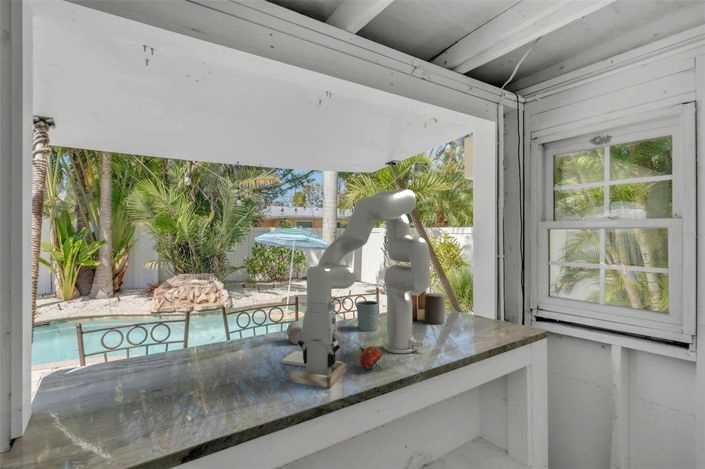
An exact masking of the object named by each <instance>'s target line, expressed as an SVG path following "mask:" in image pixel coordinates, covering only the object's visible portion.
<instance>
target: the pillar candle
mask: <svg viewBox="0 0 705 469" xmlns="http://www.w3.org/2000/svg"><path fill="white" fill-rule="evenodd" d="M424 293H425V292H424ZM445 302H446V295H445V294H444V293H440V292H436V291H434V292H426V293H425V294H424V308H423V309H424V316H423V317H424V318H423V320H424V323H426V324H428V325H434V326H435V325H443V324H445V314H446V310H445V309H446V308H445V307H446V306H445V305H446V303H445Z"/></svg>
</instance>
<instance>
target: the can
mask: <svg viewBox="0 0 705 469" xmlns="http://www.w3.org/2000/svg"><path fill="white" fill-rule="evenodd" d="M322 342H323V341H313V340H310V342H309V343H307V367H306V373H312V374H318V375H325V376H329V375H330V374H331V373H332V371H331V368H330V367H328V354H330V352H329V350H328V346H326V345H324V344H323V343H322Z"/></svg>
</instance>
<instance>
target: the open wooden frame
mask: <svg viewBox="0 0 705 469" xmlns="http://www.w3.org/2000/svg"><path fill="white" fill-rule="evenodd" d="M347 365H348V364H347V362H346V361H339V360H335V364H334V365H333V366H332V367H331V374H330V375H329V376H325V375H318V374H312V373H307V372H305V371H297V370H290V371H289V382H290V383H295V384H302V385H307V386H313V387H319V388H326V389H327V388H328V389H331V388H332V387H333V386H334V385H335V384H336V383H337V382H338V381H339V380H340V379H341V378H342V377H343V376H344V375H345V374H346V373H347V370H348V369H347Z"/></svg>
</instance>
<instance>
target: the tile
mask: <svg viewBox="0 0 705 469" xmlns="http://www.w3.org/2000/svg"><path fill="white" fill-rule="evenodd" d="M280 362H281V364H286V365H287V364H288V365H292V366H299V367H305V368H307V364H304V360H303V351H301V350H300V351H299V350H295V351H293V352H292V353H290V354H289V355H287V356H285V357H284V358H282V359H281V360H280Z"/></svg>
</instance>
